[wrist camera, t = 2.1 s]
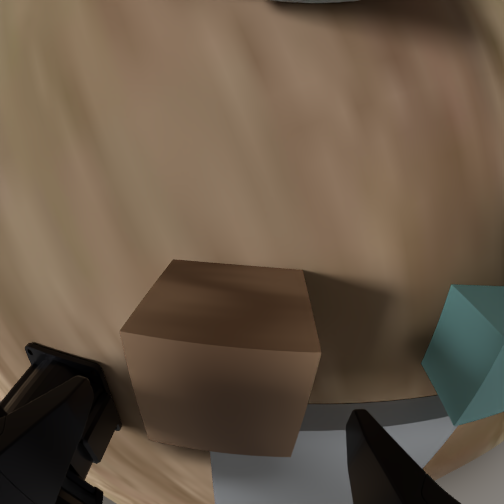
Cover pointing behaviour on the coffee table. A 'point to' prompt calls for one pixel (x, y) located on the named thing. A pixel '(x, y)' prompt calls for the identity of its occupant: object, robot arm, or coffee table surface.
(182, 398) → the walnut block
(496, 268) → the coffee table surface
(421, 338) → the coffee table surface
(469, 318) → the teal block
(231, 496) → the base plate
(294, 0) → the ceramic mug
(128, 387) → the coffee table surface
